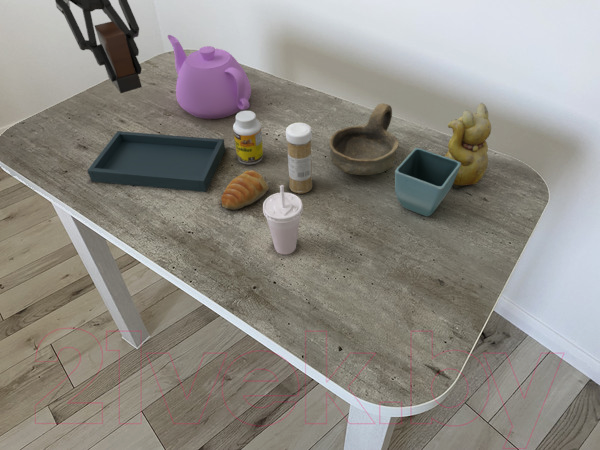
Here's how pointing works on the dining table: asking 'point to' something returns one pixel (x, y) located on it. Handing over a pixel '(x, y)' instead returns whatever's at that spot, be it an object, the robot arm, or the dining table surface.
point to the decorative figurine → (470, 145)
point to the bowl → (365, 145)
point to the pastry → (244, 190)
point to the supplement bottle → (248, 138)
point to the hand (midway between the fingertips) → (126, 74)
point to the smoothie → (283, 219)
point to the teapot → (210, 82)
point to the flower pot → (424, 180)
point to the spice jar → (299, 157)
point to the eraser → (118, 56)
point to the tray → (158, 161)
